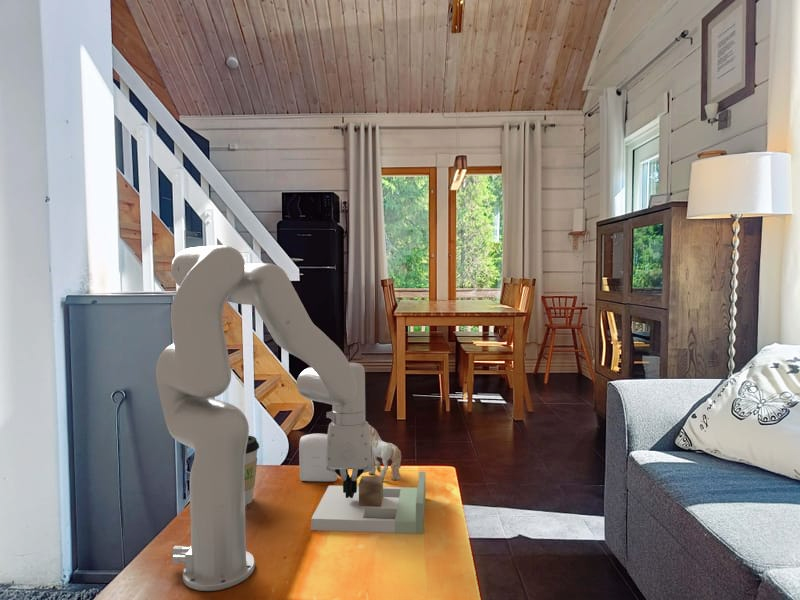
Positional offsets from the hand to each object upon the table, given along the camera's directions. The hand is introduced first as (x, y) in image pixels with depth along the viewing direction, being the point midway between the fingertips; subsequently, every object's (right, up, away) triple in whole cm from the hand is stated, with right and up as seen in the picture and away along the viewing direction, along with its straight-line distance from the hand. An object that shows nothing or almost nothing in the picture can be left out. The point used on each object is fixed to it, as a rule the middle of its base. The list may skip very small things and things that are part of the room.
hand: (350, 495), depth 122 cm
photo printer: (-10, -3, +20) cm, 23 cm away
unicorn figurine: (+4, -3, +21) cm, 21 cm away
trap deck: (+5, -4, 0) cm, 6 cm away
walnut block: (+5, -1, 0) cm, 5 cm away
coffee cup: (-27, -4, +6) cm, 28 cm away
